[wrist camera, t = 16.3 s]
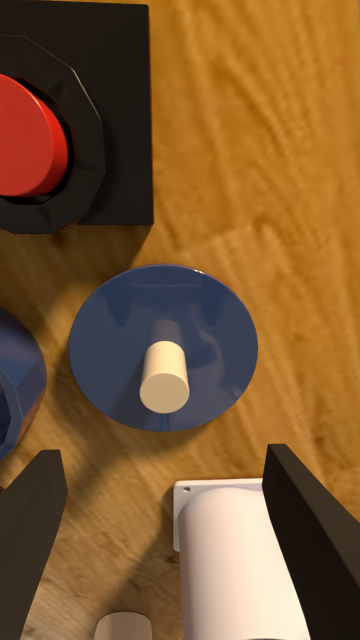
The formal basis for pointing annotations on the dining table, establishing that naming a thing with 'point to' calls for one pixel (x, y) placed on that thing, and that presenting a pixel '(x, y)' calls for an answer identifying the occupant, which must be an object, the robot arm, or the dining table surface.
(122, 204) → the block
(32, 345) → the pot
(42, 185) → the button
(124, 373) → the lid
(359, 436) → the dining table surface
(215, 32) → the dining table surface
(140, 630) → the shot glass
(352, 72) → the dining table surface
